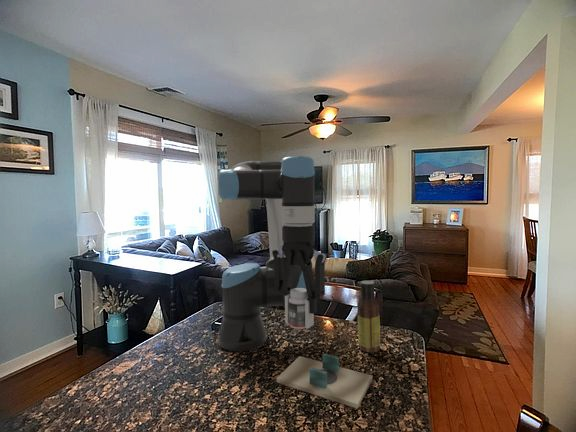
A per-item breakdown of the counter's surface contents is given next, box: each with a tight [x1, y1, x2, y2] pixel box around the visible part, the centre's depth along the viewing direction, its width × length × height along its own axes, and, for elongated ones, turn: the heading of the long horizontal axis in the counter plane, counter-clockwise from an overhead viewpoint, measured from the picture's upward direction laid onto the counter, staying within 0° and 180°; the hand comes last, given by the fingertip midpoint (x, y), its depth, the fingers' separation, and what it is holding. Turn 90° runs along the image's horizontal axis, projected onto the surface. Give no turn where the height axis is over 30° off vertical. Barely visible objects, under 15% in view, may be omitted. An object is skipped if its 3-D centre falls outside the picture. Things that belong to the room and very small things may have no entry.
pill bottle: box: [288, 288, 308, 330], centre depth 75 cm, size 5×5×8 cm
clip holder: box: [276, 352, 373, 410], centre depth 77 cm, size 20×12×4 cm, turn 61°
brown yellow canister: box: [357, 280, 381, 354], centre depth 93 cm, size 7×6×20 cm
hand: (299, 323), depth 75 cm, fingers closed on pill bottle, 5 cm apart
